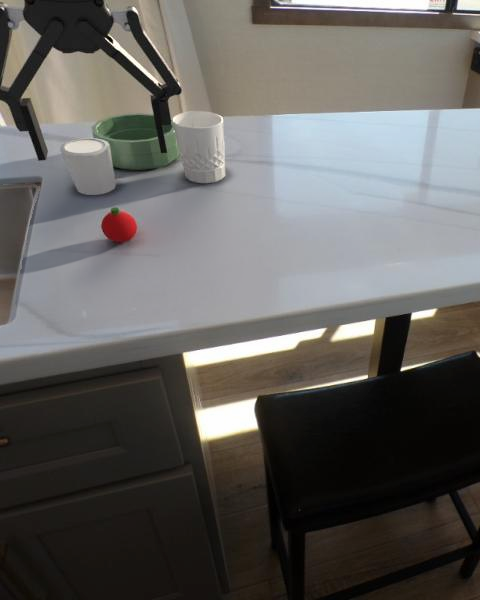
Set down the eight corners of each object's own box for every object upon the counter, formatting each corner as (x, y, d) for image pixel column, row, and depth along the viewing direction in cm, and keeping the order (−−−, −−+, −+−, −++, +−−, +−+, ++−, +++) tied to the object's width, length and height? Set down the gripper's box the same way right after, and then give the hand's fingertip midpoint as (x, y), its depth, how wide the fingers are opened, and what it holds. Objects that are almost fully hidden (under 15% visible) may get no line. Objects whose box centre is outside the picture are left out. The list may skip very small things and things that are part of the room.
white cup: (204, 189, 88) (195, 131, 82) (171, 175, 91) (161, 118, 84) (238, 175, 93) (233, 119, 87) (207, 162, 96) (199, 107, 90)
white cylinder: (126, 190, 85) (116, 149, 81) (81, 200, 81) (68, 158, 77) (110, 174, 89) (100, 134, 84) (66, 183, 85) (53, 142, 80)
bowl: (82, 161, 91) (73, 131, 88) (135, 136, 102) (129, 108, 98) (148, 178, 89) (142, 148, 85) (196, 151, 99) (192, 123, 96)
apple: (98, 243, 73) (88, 212, 70) (120, 229, 76) (112, 198, 73) (125, 251, 72) (116, 219, 69) (146, 236, 75) (139, 205, 72)
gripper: (-115, -52, 46) (-19, 172, 59) (187, -34, 55) (212, 157, 68) (-90, -62, 51) (-7, 146, 64) (181, -44, 60) (205, 136, 73)
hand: (105, 152), depth 66 cm, fingers open, 13 cm apart
